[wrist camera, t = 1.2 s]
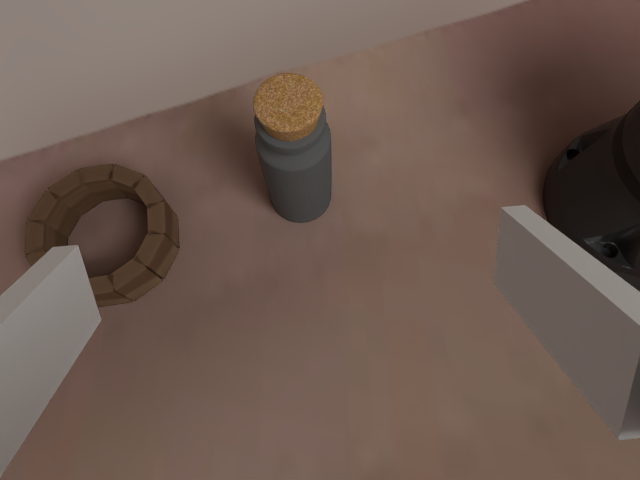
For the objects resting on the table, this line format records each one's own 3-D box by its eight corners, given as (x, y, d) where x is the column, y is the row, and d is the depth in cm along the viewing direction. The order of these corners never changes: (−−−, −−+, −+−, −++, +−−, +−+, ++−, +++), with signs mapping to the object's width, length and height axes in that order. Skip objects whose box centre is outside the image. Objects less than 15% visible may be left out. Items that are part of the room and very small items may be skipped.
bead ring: (175, 176, 47) (162, 156, 43) (182, 294, 43) (167, 283, 39) (54, 194, 47) (29, 175, 43) (49, 314, 43) (21, 305, 39)
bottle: (343, 187, 46) (348, 90, 32) (308, 234, 45) (298, 154, 30) (294, 158, 47) (277, 52, 33) (259, 203, 46) (226, 111, 32)
